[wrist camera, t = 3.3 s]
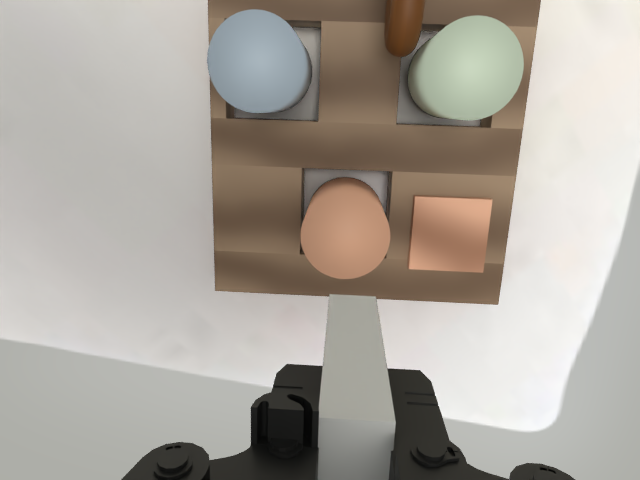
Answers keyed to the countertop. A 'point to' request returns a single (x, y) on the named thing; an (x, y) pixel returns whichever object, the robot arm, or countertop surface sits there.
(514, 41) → the pale green rounded cylinder
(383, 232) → the peach rounded cylinder
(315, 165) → the wooden compartment tray
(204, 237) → the countertop surface
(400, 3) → the mug
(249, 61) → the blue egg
